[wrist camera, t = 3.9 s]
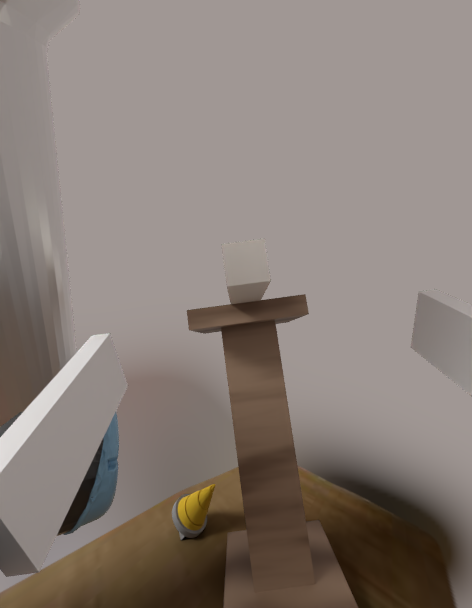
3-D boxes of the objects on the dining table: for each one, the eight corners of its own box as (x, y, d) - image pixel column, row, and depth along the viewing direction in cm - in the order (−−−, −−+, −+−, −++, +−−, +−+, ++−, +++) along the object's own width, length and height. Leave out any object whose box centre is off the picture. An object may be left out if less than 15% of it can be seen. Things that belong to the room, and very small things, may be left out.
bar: (270, 280, 18) (264, 238, 19) (226, 286, 18) (221, 244, 19) (253, 314, 42) (250, 295, 43) (233, 317, 42) (231, 298, 43)
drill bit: (194, 516, 44) (229, 475, 42) (191, 555, 39) (231, 510, 37) (165, 504, 43) (199, 460, 41) (158, 543, 37) (197, 495, 35)
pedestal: (363, 636, 23) (305, 294, 27) (225, 656, 23) (186, 310, 27) (321, 536, 35) (285, 308, 39) (229, 549, 35) (202, 319, 39)
